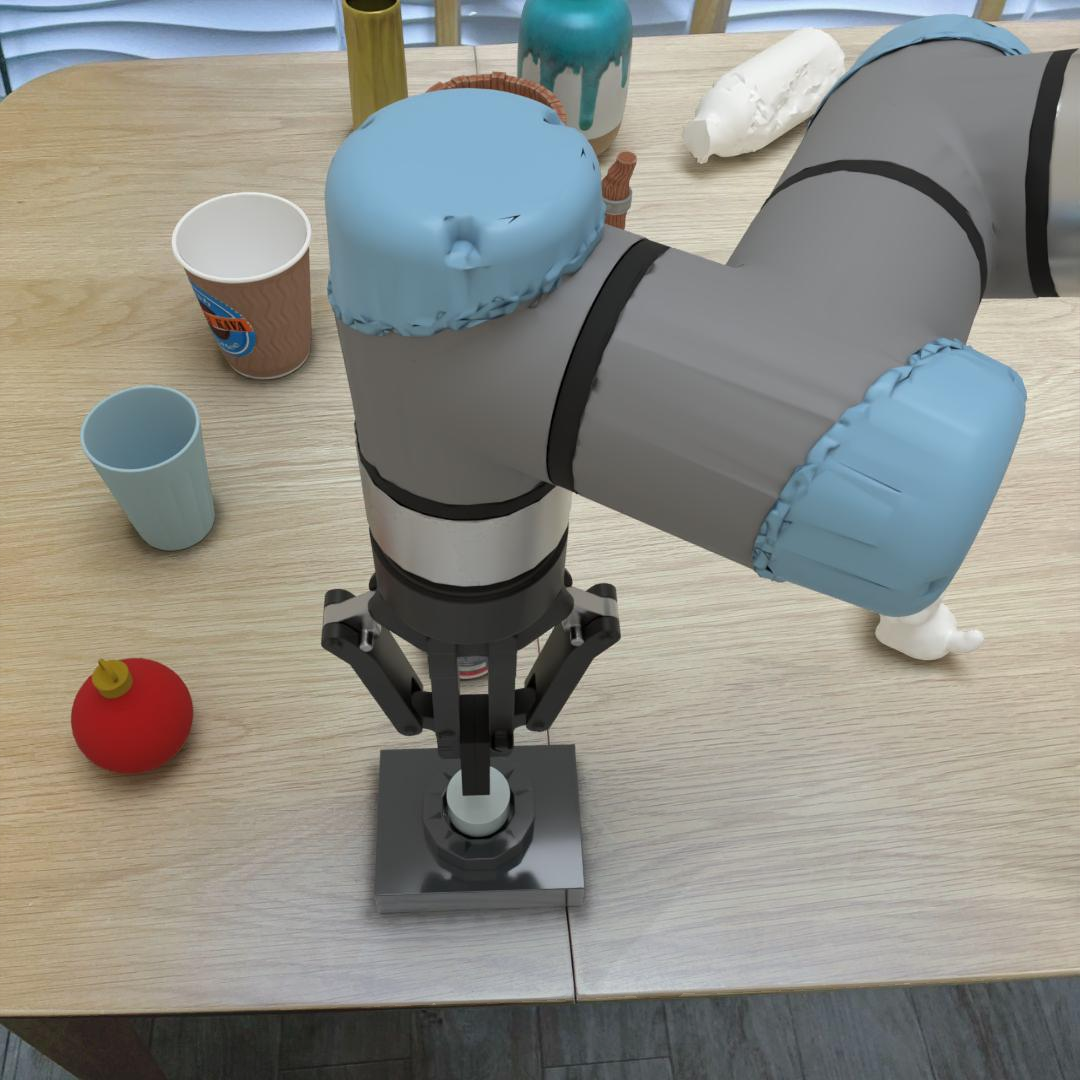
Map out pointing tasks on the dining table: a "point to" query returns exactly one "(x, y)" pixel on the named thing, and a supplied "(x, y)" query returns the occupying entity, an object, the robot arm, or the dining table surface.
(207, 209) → the coffee cup
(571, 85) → the vase
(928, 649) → the figurine
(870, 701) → the dining table surface
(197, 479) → the cup
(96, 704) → the christmas ornament
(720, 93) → the white bottle
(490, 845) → the push button box
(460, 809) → the grey short cylinder
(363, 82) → the vase
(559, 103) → the mug
